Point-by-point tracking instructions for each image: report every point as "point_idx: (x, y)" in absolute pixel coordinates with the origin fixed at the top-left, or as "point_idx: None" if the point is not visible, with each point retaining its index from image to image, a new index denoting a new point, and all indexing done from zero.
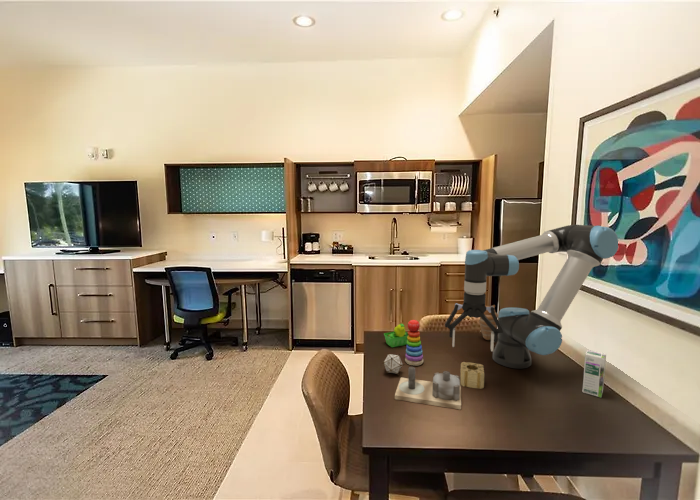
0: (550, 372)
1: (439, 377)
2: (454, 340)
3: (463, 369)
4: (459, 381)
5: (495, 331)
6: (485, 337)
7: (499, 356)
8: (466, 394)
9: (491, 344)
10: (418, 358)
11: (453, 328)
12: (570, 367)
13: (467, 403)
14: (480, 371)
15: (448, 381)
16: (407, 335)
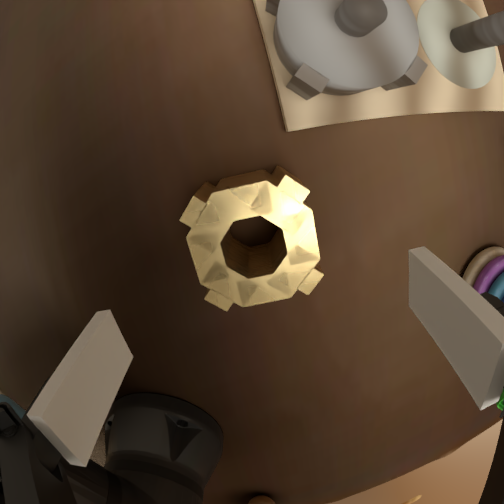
0: None
1: (391, 30)
2: (438, 277)
3: (296, 198)
4: (282, 24)
5: (8, 439)
6: (265, 500)
7: (190, 429)
8: (253, 102)
9: (85, 343)
10: (490, 270)
11: (499, 387)
12: None
13: (233, 36)
14: (200, 220)
15: (337, 4)
16: (501, 401)
